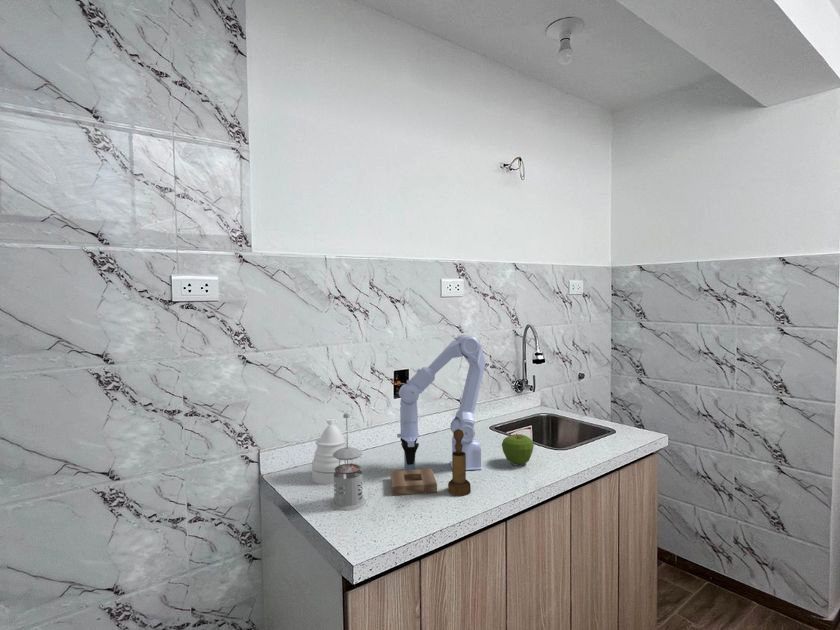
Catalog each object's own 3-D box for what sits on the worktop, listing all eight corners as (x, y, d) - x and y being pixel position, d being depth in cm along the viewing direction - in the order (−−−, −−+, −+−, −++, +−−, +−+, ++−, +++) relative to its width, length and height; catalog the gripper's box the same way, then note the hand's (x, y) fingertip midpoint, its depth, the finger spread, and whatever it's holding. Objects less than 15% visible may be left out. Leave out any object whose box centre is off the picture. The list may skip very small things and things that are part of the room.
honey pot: (310, 472, 143) (309, 418, 143) (349, 466, 147) (347, 414, 147) (314, 487, 131) (313, 428, 131) (356, 480, 135) (355, 423, 135)
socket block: (431, 476, 137) (431, 468, 137) (437, 492, 125) (436, 484, 125) (390, 479, 136) (390, 471, 136) (392, 495, 124) (392, 486, 124)
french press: (334, 514, 114) (332, 419, 113) (326, 496, 124) (324, 410, 124) (370, 506, 117) (368, 414, 117) (359, 490, 128) (357, 406, 128)
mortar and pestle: (464, 498, 122) (463, 434, 121) (444, 493, 125) (443, 431, 125) (474, 489, 127) (473, 428, 127) (454, 484, 131) (453, 425, 130)
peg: (414, 468, 145) (414, 444, 144) (415, 472, 141) (415, 448, 141) (404, 469, 144) (403, 445, 144) (404, 473, 141) (404, 448, 140)
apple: (520, 456, 154) (520, 428, 154) (541, 465, 145) (540, 436, 145) (495, 461, 150) (495, 432, 149) (515, 471, 140) (514, 441, 140)
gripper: (395, 416, 149) (396, 455, 149) (397, 427, 135) (398, 470, 135) (416, 415, 150) (417, 454, 150) (420, 426, 135) (421, 469, 136)
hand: (409, 461), depth 143 cm, fingers closed on peg, 4 cm apart
